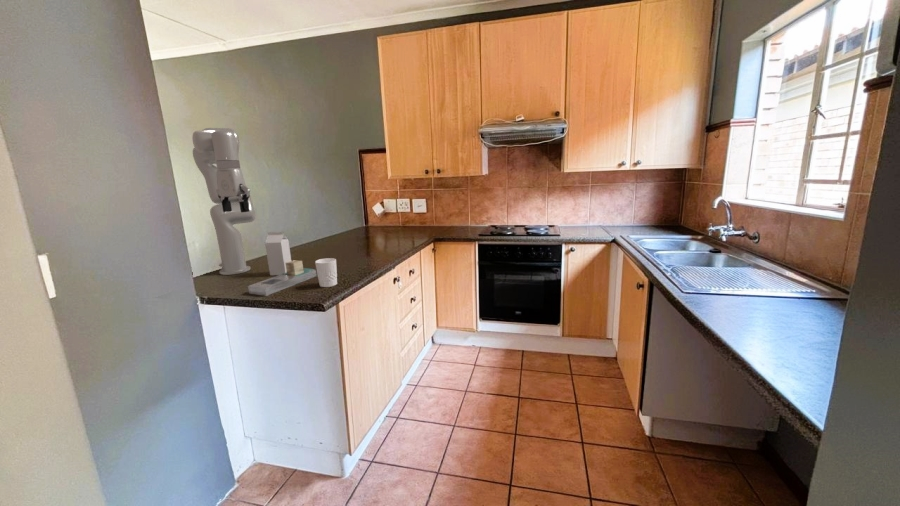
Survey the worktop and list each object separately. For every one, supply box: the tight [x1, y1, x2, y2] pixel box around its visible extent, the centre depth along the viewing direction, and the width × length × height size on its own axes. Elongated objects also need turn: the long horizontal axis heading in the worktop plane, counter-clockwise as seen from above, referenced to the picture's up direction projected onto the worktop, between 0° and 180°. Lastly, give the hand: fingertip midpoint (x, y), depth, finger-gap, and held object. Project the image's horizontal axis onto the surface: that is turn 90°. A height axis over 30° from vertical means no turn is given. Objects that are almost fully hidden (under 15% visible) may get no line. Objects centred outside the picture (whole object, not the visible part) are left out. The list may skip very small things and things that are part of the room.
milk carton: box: [264, 231, 292, 276], centre depth 162 cm, size 7×7×19 cm
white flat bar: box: [247, 267, 318, 297], centre depth 147 cm, size 26×9×3 cm, turn 157°
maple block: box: [285, 259, 304, 276], centre depth 152 cm, size 5×5×8 cm
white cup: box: [314, 257, 338, 288], centre depth 144 cm, size 8×8×10 cm
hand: (236, 211), depth 139 cm, fingers open, 9 cm apart
